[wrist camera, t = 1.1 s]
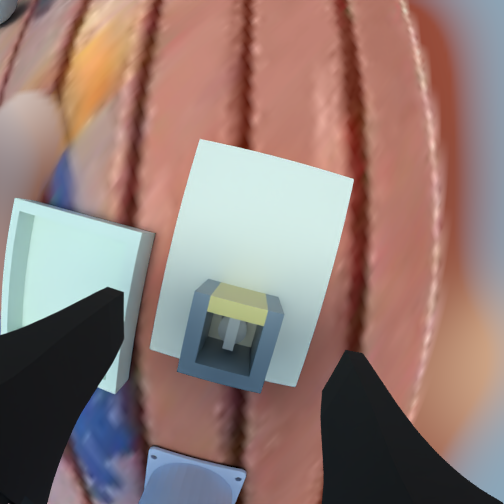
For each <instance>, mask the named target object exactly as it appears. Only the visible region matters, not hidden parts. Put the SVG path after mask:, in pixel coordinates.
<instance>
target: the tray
mask: <svg viewBox="0 0 504 504" xmlns="http://www.w3.org/2000/svg"><path fill="white" fill-rule="evenodd" d="M154 237H155V233H153V232H149V231H145V230H142V229H138V228H134V227H130V226H127V225H123V224H119V223H115V222H112V221H108V220H104V219H100V218H97V217H93V216H89V215H86V214H82V213H78V212H75V211H71V210H67V209H63V208H60V207H56V206H52V205H49V204H45V203H41V202H38V201H33V200H26V199H19V198H15V201H14V205H13V210H12V216H11V221H10V227H9V233H8V240H7V247H6V255H5V263H4V273H3V286H2V303H1V335H2V334H5V333H8V332H11V331H14V330H17V329H19V328H22V327H25V326H27V325H30V324H32V323H34V322H36V321H38V320H41V319H43V318H45V317H47V316H49V315H52V314H54V313H56V312H58V311H60V310H62V309H64V308H66V307H68V306H70V305H72V304H74V303H76V302H78V301H80V300H82V299H84V298H86V297H88V296H90V295H91V294H93V293H95V292H97V291H99V290H102V289H104V288H106V287H110V288H113V289H116V290H119V291H122V292H124V341H123V343H122V345H121V347H120V349H119V352H118V354H117V356H116V358H115V360H114V362H113V364H112V365H111V367H110V368H109V370H108V372H107V373H106V375H105V376H104V378H103V379H102V381H101V382H100V384H99V385H98V387H99V388H101V389H103V390H106V391H108V392H111V393H113V394H116V393H117V392H118V391H119V389H120V388H121V387H122V386H123V385H124V384H125V383H126V382H127V380H128V379H129V372H130V364H131V357H132V351H133V344H134V338H135V332H136V326H137V320H138V314H139V309H140V303H141V298H142V293H143V288H144V283H145V278H146V273H147V268H148V264H149V259H150V255H151V250H152V246H153V242H154Z"/></svg>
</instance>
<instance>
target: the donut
mask: <svg viewBox="0 0 504 504" xmlns="http://www.w3.org/2000/svg"><path fill="white" fill-rule="evenodd" d="M17 2H18V0H0V24H1V23H3V22H5V21H6V20H8V19H9V17H10V16H11V15H12V14H13V12H14V11H15V9H16V7H17Z"/></svg>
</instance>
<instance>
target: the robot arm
mask: <svg viewBox="0 0 504 504" xmlns="http://www.w3.org/2000/svg"><path fill="white" fill-rule="evenodd" d="M123 341H124V292H122V291H119V290H116V289H113V288H110V287H106V288H104V289H102V290H99V291H97V292H95V293H93V294H91V295H90V296H88V297H86V298H84V299H82V300H80V301H78V302H76V303H74V304H72V305H70V306H68V307H66V308H64V309H62V310H60V311H58V312H56V313H54V314H52V315H49V316H47V317H45V318H43V319H41V320H38V321H36V322H34V323H32V324H30V325H27V326H25V327H22V328H19V329H17V330H14V331H11V332H8V333H5V334H2V335H0V504H8V503H9V504H47V502H48V498H49V494H50V490H51V487H52V483H53V480H54V477H55V474H56V471H57V468H58V465H59V462H60V459H61V457H62V454H63V452H64V449H65V447H66V444H67V442H68V439H69V437H70V435H71V433H72V430H73V428H74V426H75V424H76V422H77V420H78V418H79V416H80V414H81V412H82V411H83V409H84V407H85V406H86V404H87V403H88V401H89V400H90V398H91V396H92V395H93V393H94V392H95V390H96V389H97V387H98V385H99V384H100V382H101V381H102V379H103V378H104V376H105V375H106V373H107V372H108V370H109V368H110V367H111V365H112V364H113V362H114V360H115V358H116V356H117V354H118V352H119V349H120V347H121V345H122V343H123ZM321 435H322V452H323V471H324V486H323V497H322V504H503V503H502V502H501V501H499V500H497V499H496V498H494V497H492V496H491V495H489V494H487V493H486V492H484V491H482V490H481V489H479V488H478V487H477V486H475V485H474V484H472V483H471V482H470V481H468V480H467V479H466V478H464V477H463V476H462V475H461V474H460V473H458V472H457V471H456V470H455V469H454V468H453V467H451V466H450V465H449V464H448V463H447V462H446V461H445V460H444V459H443V458H442V457H441V456H439V454H437V452H436V451H435V450H434V449H433V448H432V447H431V446H430V445H429V444H428V442H427V441H426V440H425V439H424V438H423V437H422V436H421V435H420V433H419V432H418V431H417V430H416V429H415V427H414V426H413V425H412V423H411V422H410V421H409V419H408V418H407V417H406V416H405V414H404V413H403V412H402V410H401V409H400V407H399V406H398V405H397V403H396V402H395V400H394V399H393V397H392V396H391V394H390V393H389V391H388V390H387V388H386V387H385V385H384V384H383V382H382V381H381V379H380V378H379V376H378V375H377V373H376V372H375V370H374V369H373V367H372V366H371V364H370V363H369V361H368V360H367V359H366V357H365V356H364V354H363V353H359V352H353V351H348V350H345V352H344V354H343V356H342V357H341V359H340V361H339V363H338V365H337V366H336V368H335V370H334V372H333V373H332V375H331V377H330V379H329V380H328V382H327V384H326V385H325V387H324V389H323V390H322V401H321ZM153 455H155V456H156V457H154V456H153ZM237 477H239V478H237ZM245 478H246V471H245V470H243V469H239V468H234V467H229V466H224V465H220V464H215V463H211V462H207V461H203V460H199V459H196V458H192V457H188V456H185V455H181V454H178V453H174V452H171V451H168V450H165V449H161V448H158V447H155V446H153V447H151V448H150V450H149V453H148V461H147V469H146V477H145V486H144V492H143V494H142V496H141V499H140V501H139V503H138V504H235V502H236V500H237V497H238V495H239V493H240V490H241V488H242V485H243V483H244V480H245Z"/></svg>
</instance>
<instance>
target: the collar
mask: <svg viewBox="0 0 504 504" xmlns="http://www.w3.org/2000/svg"><path fill="white" fill-rule="evenodd" d="M213 313H215V314H218V315H222V316H226V317H230V318H233V319H237V320H241V321H245V322H249V323H253V324H257V327H256V331H255V334H254V338H253V341H252V345H251V347H247V346H243V345H239V344H234V347H233V351H230V350H226V349H223V348H222V347H223V343H224V341H223V340H220V339H216V338H213V337H209V336H208V334H209V330H210V326H211V321H212V317H213ZM283 318H284V312H283V309H282V306H281V303H280V300H279V298H278V297H276V296H272V295H268V294H264V293H261V292H257V291H253V290H249V289H245V288H241V287H237V286H234V285H230V284H226V283H222V282H219V281H215V280H211V279H208V280H207V281H206V282H204V283H203V284H202V285H201V286H200V287H199V288H198V289H196V290H195V292H194V296H193V300H192V305H191V309H190V313H189V318H188V322H187V327H186V331H185V336H184V340H183V345H182V350H181V355H180V359H179V364H178V369H177V372H180V373H183V374H186V375H190V376H193V377H197V378H200V379H204V380H207V381H211V382H215V383H219V384H223V385H226V386H230V387H234V388H239V389H243V390H247V391H251V392H256V393H261V390H262V387H263V384H264V381H265V378H266V374H267V371H268V368H269V365H270V361H271V358H272V355H273V352H274V348H275V345H276V342H277V338H278V335H279V332H280V328H281V325H282V321H283Z"/></svg>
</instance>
